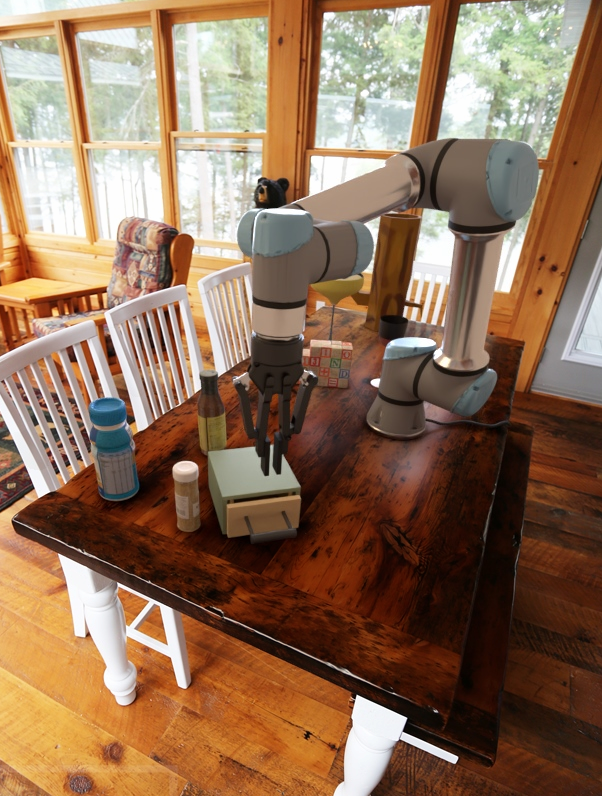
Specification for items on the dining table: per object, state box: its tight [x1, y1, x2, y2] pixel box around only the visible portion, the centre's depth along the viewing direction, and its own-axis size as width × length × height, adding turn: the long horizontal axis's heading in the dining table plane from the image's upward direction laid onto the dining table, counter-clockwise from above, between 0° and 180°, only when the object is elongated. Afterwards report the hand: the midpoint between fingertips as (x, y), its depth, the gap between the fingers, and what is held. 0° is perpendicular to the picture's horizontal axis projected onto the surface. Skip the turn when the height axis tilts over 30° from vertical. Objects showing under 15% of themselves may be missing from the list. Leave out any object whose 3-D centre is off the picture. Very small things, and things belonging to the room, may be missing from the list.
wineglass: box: [370, 315, 409, 389], centre depth 151 cm, size 8×9×20 cm
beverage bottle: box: [87, 396, 140, 502], centre depth 100 cm, size 8×8×20 cm
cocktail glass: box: [309, 273, 365, 341], centre depth 176 cm, size 18×18×25 cm
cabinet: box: [207, 444, 302, 535], centre depth 101 cm, size 16×15×9 cm
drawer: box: [226, 492, 302, 545], centre depth 96 cm, size 21×14×7 cm, turn 15°
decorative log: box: [350, 212, 424, 332], centre depth 194 cm, size 14×40×30 cm
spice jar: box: [172, 460, 202, 533], centre depth 93 cm, size 5×5×13 cm
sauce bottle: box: [196, 369, 228, 457], centre depth 115 cm, size 7×6×20 cm
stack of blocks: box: [295, 339, 353, 389], centre depth 153 cm, size 21×6×12 cm, turn 84°
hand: (270, 470), depth 84 cm, fingers closed
